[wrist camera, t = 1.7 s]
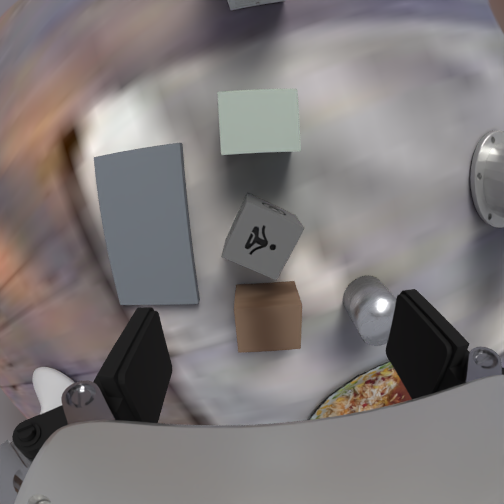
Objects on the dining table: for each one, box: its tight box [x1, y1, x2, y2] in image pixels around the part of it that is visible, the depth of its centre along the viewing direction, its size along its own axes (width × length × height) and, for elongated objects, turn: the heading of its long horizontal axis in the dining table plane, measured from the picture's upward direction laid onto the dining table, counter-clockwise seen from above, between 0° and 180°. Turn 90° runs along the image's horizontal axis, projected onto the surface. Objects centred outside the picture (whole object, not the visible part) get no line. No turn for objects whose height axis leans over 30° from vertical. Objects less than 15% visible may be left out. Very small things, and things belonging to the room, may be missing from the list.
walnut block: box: [234, 281, 302, 353], centre depth 29 cm, size 6×5×5 cm
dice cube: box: [222, 193, 304, 280], centre depth 26 cm, size 5×5×5 cm
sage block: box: [217, 89, 301, 155], centre depth 23 cm, size 6×5×5 cm
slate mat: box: [94, 143, 200, 305], centre depth 27 cm, size 9×16×1 cm, turn 3°
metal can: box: [343, 276, 396, 346], centre depth 28 cm, size 5×5×6 cm
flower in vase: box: [33, 367, 75, 414], centre depth 25 cm, size 13×11×25 cm
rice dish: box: [310, 361, 412, 420], centre depth 37 cm, size 28×28×5 cm
